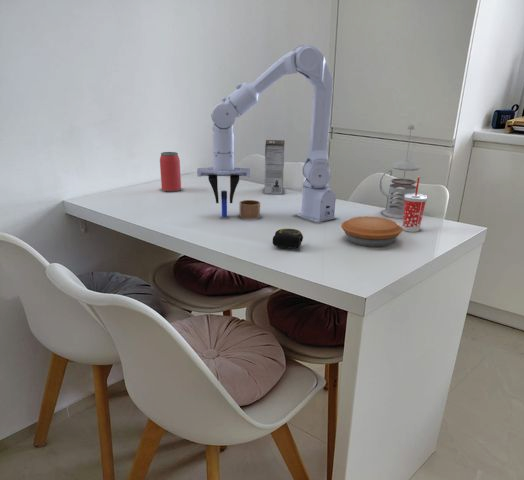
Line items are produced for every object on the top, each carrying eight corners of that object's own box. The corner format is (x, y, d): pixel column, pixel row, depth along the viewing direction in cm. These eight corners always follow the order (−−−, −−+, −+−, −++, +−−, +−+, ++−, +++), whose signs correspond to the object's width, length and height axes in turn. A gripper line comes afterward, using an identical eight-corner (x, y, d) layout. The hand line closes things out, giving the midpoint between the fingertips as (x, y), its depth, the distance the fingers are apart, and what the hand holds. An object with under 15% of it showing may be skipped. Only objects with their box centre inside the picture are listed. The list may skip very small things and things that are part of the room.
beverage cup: (413, 225, 152) (421, 174, 146) (426, 231, 148) (435, 178, 141) (395, 227, 150) (402, 175, 144) (407, 233, 146) (415, 179, 139)
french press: (414, 219, 158) (428, 127, 146) (374, 215, 161) (384, 125, 149) (416, 211, 166) (430, 123, 154) (378, 207, 169) (389, 121, 157)
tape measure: (271, 249, 131) (271, 234, 130) (278, 241, 137) (278, 226, 135) (298, 252, 130) (299, 237, 128) (304, 244, 136) (305, 229, 134)
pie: (359, 252, 131) (362, 232, 128) (329, 234, 143) (330, 215, 141) (413, 246, 136) (416, 226, 133) (379, 229, 148) (381, 211, 146)
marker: (228, 217, 156) (228, 190, 152) (225, 219, 154) (224, 192, 151) (223, 216, 156) (223, 190, 153) (220, 218, 155) (220, 191, 151)
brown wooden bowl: (264, 217, 156) (264, 203, 154) (248, 221, 153) (248, 206, 151) (251, 213, 160) (251, 199, 158) (235, 216, 157) (235, 201, 155)
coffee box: (264, 187, 191) (265, 139, 183) (282, 188, 191) (284, 139, 183) (264, 193, 183) (265, 143, 175) (283, 194, 183) (285, 144, 175)
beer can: (185, 189, 186) (183, 152, 180) (172, 193, 181) (170, 155, 175) (170, 187, 189) (168, 150, 183) (157, 190, 184) (155, 153, 178)
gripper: (196, 154, 143) (198, 205, 149) (251, 154, 144) (250, 205, 150) (196, 149, 149) (198, 199, 155) (249, 150, 150) (249, 199, 156)
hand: (224, 202), depth 153 cm, fingers open, 3 cm apart
